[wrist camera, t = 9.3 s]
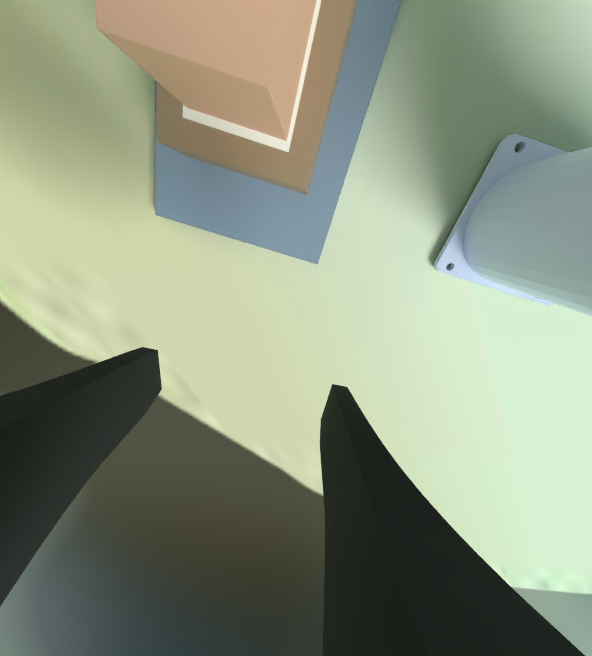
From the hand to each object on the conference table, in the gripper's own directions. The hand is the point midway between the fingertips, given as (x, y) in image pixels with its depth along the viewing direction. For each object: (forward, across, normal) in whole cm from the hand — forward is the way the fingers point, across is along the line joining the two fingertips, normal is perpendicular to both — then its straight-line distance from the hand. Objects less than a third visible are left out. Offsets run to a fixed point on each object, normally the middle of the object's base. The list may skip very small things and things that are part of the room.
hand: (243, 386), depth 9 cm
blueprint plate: (+10, +3, -12) cm, 16 cm away
